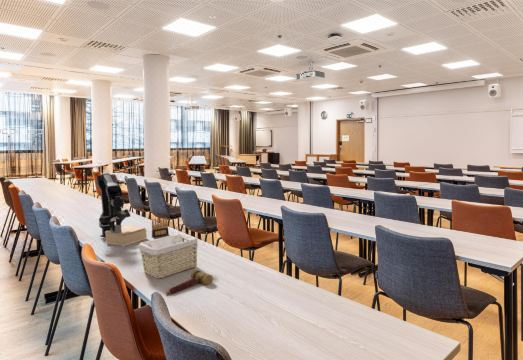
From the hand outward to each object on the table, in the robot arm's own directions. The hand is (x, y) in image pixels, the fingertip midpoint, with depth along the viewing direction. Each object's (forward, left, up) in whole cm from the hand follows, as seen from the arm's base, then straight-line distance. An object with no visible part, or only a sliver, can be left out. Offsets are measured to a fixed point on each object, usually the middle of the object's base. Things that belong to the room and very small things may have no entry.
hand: (116, 230), depth 229 cm
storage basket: (+62, -20, -8) cm, 66 cm away
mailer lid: (0, +7, -2) cm, 7 cm away
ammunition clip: (+12, +24, -8) cm, 28 cm away
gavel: (+84, -33, -9) cm, 91 cm away
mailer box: (0, +7, -8) cm, 11 cm away
